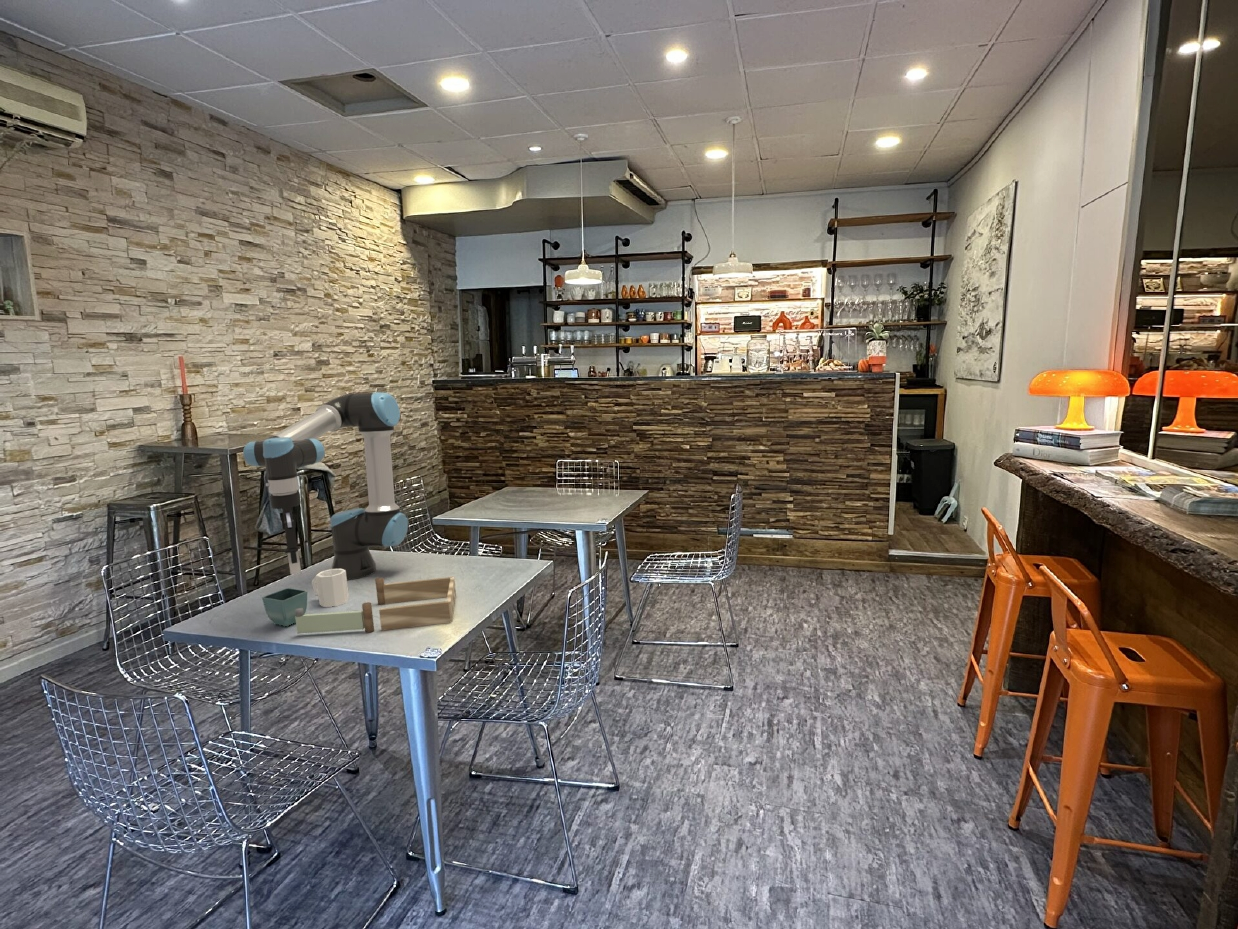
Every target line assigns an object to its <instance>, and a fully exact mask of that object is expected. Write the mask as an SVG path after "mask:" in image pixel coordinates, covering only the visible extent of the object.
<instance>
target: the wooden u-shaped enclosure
mask: <svg viewBox="0 0 1238 929" xmlns="http://www.w3.org/2000/svg"><path fill="white" fill-rule="evenodd" d="M374 581H375V589H376V597H377V605H378V606H379V605H380V606H382V605H383V606H384V605H385V604H395V603H396V604H397V603H403V602H413V601H421V600H423V601H424V600H431V599H438V598H439V599H440V598H446V600H445V601H435V602H427V603H419V604H410V605H400V606H393V607H383V608H379V610H378V613H379V621H380V629H381V631H389V630H398V629H406V628H413V627H414V628H415V627H423V626H430V625H431V626H433V625H439V624H448V623H451V622H453V620H454V612H455V606H456V598H457V593H456V591H457V590H456V581H455V577H453V576H448V577H438V578H428V579H420V580H411V581H400V582H392V583H385V580H384V577H378V578H375V579H374ZM372 605H373V604H372V602H368V601H367V602H364V603H362V604H361V606H362V607H361V608H362V611H363V617H364V626H365V628H364V633H366V634H370V633H373V632H374V631H375V625H374V615H373V608H372Z"/></svg>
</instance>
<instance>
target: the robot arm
mask: <svg viewBox="0 0 1238 929" xmlns="http://www.w3.org/2000/svg"><path fill="white" fill-rule="evenodd" d="M398 403H399V402H397V400H396V399H395V397H394V396H393V395H392V394H390V393H387V392H377V391H376V392H364V393H363V392H361V393H346V394H343V395H341V396H338V397H334V398H333V399H331V400H329V401H326V402H325V403H323V404H321V405H320V406H318V407H317V408H316V409H315V412H313V413H311V414H309V415H308V416H305V417H303V418H302V419H300V420H298V421H297V422H295V423H293V424H291V425H289V426H287V427H286V428H284V429H282V430H280V431H279V432H277V433H275V434H273V435H271V436H269V437H267V438H266V439H264V440H255V441H250V442H248V443H246V444H245V446H244V447H243V452H242V457H243V459H244V461H245V462H246V464H247V465H248V466H251V467H260V468H263V467H265V471H266V478H267V482H266V483H265V487H268V493H269V494H270V496H269V501H270V507H271V509H275V510H279V509H280V510H282V512H279V520H280V521H281V526H282V530H284V533H285V542H286V544H285V546H286V550H284V554H287V559H288V566H289V574H290V575H295V574H301V573H302V569H301V561H300V554H299V550H300V548H301V546H300V545H299V546H298V543H297V535H296V534H297V533H296V529H297V523H296V522H297V521H296V519H297V514H296V510H292V508H293V507H298V506H300V505H301V502H302V500H301V494H300V491H299V490H300V486H299V479H298V478H299V477H298V472H297V469H299V468H302V467H306V466H311V465H314V464H317V463H319V462H321V461H322V460H323V459H324V457H325V447H324V445H323V443H322V442H321V440H319V439H318V438H320V437H322V436H323V435H325V434H327V433H328V432H335V431H337V430H339V429H342V428H343V429H344V428H357V429H358V433H359V434H360V435H361V436H362V437H363V444H364V454H365V455H364V457H365V468H366V469H365V471H366V480H367V482H366V483H367V497H368V506H367V507H366V508H362V507H359V508H353V509H352V508H351V509H348V510H343V511H340V512H336V513H335V514H333V515H332V516H331V517H330V531H331V538H332V545H333V553H334V554H333V555H334V556H333V560H332V564H331V569H344V570H346V578H347V581H349V580H355V579H360V578H365V577H367V576H370V575H372V574H374V573H375V572H377V565H376V561H375V560H374V558H373V555H372V553H371V552H370V547H385V548H387V547H396V546H399V545H400V544H401V543H402V542H403V541H404V539H405V537H406V536H407V533H408V527H409V521H408V518H407V516H406V514H404V513H402V512H401V510H400V506H399V505H398V504H397V503H396V501H395V488H394V487H395V486H394V473H393V459H392V448H391V447H392V446H391V435H392V434H393V433H394V431H395V426H397V425H398V424H399V422H400V418H401V412H400V411H401V410H400V407H399V404H398Z"/></svg>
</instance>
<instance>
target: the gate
mask: <svg viewBox="0 0 1238 929" xmlns="http://www.w3.org/2000/svg"><path fill="white" fill-rule="evenodd" d="M295 614H296V616H295V619H296V623H295V625H296V626H295V627H296V631H297V634H312V633H325V632H341V631H356V630H357V631H358V630H365V626H364V617H363V610H353V611H352V610H350V611H337V612H322V613H320V612H319V613H307V614H306V613H305V614H304V612H303V608H298V609H295Z"/></svg>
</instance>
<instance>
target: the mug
mask: <svg viewBox="0 0 1238 929" xmlns="http://www.w3.org/2000/svg"><path fill="white" fill-rule="evenodd" d="M310 583H311V586H312V588H313V592H314V595H315V596H318V602H319V606H320V605H321V607H323V608H330V607H331V608H333V607H332V606H335V607H338V606H341V605H344V604H346V603H348V602H349V600H350V594H349V589H348V580H347V578H346V570H344V569H332V568H330V569H325V570H322V571H320V572H319V573H317V574H315V576H314V578H313V579H312V581H311V582H310Z"/></svg>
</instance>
